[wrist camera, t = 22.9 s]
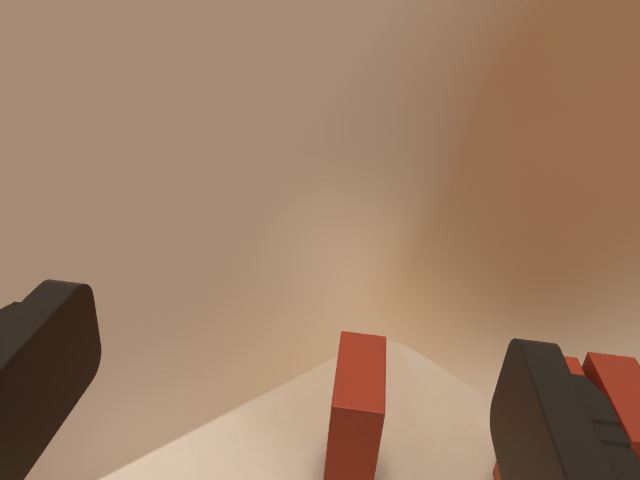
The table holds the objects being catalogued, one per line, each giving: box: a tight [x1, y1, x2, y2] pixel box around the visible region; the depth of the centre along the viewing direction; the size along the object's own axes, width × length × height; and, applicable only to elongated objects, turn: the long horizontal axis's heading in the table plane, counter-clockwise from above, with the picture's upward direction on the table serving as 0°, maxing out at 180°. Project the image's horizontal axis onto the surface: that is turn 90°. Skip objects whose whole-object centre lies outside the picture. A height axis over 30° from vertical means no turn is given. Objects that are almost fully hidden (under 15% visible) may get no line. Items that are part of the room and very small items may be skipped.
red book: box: [324, 331, 386, 480], centre depth 31 cm, size 3×6×10 cm, turn 173°
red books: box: [493, 352, 640, 480], centre depth 30 cm, size 9×6×10 cm
